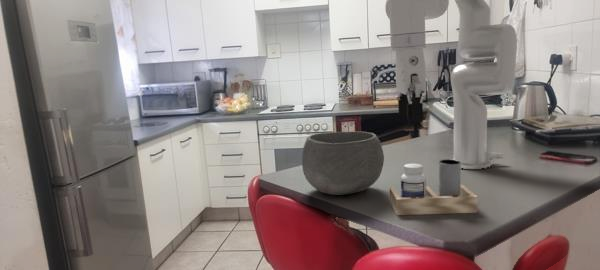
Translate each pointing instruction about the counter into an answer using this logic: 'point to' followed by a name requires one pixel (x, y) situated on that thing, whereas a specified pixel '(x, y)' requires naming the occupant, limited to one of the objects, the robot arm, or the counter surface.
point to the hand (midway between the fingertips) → (410, 118)
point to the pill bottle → (413, 181)
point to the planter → (449, 177)
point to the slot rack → (434, 203)
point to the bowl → (342, 161)
